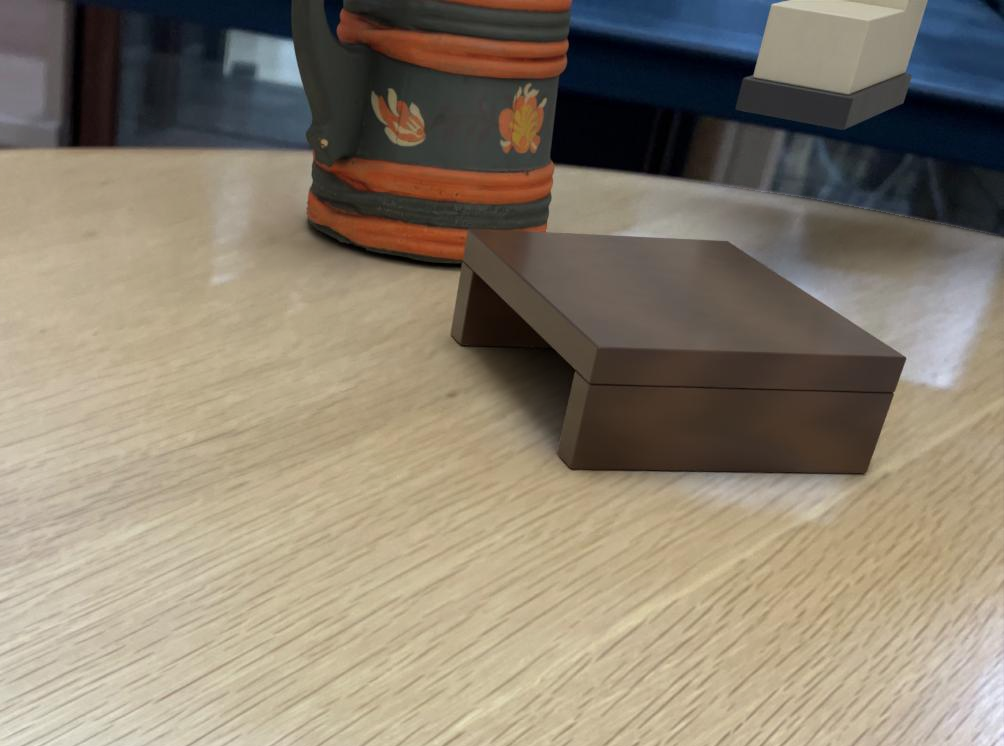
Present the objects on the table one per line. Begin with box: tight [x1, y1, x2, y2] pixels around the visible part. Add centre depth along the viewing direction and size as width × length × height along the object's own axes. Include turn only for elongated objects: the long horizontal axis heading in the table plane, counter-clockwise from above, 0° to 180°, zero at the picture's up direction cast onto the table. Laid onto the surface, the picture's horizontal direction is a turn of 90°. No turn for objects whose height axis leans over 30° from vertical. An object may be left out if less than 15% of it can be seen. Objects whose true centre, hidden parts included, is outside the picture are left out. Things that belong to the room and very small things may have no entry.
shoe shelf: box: [450, 228, 907, 474], centre depth 71 cm, size 14×18×5 cm
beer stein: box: [290, 0, 573, 264], centre depth 85 cm, size 19×15×20 cm
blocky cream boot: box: [735, 0, 928, 131], centre depth 88 cm, size 14×6×11 cm, turn 148°
